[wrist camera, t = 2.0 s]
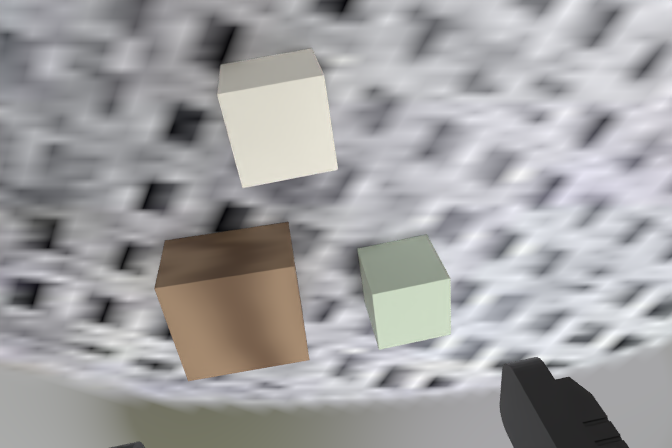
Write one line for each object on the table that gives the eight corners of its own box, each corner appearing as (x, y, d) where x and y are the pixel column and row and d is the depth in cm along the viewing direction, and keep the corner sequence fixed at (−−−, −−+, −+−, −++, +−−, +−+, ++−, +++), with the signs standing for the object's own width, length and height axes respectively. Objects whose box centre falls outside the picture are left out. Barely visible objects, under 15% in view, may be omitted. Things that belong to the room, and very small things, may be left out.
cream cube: (242, 147, 30) (242, 188, 26) (220, 63, 27) (217, 94, 23) (324, 132, 30) (337, 169, 26) (311, 47, 28) (323, 75, 24)
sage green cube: (364, 300, 38) (379, 349, 34) (357, 247, 36) (372, 294, 31) (428, 287, 39) (450, 334, 34) (426, 233, 36) (450, 278, 32)
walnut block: (194, 327, 37) (188, 381, 33) (165, 238, 33) (154, 288, 29) (301, 309, 38) (309, 360, 34) (288, 220, 34) (294, 266, 29)
